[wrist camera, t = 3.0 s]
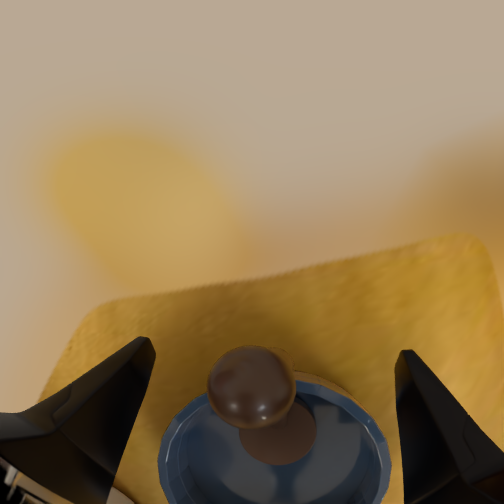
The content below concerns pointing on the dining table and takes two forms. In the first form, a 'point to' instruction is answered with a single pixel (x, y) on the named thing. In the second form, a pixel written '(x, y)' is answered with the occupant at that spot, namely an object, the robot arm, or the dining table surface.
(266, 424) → the ladle
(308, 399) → the bowl
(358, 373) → the dining table surface
